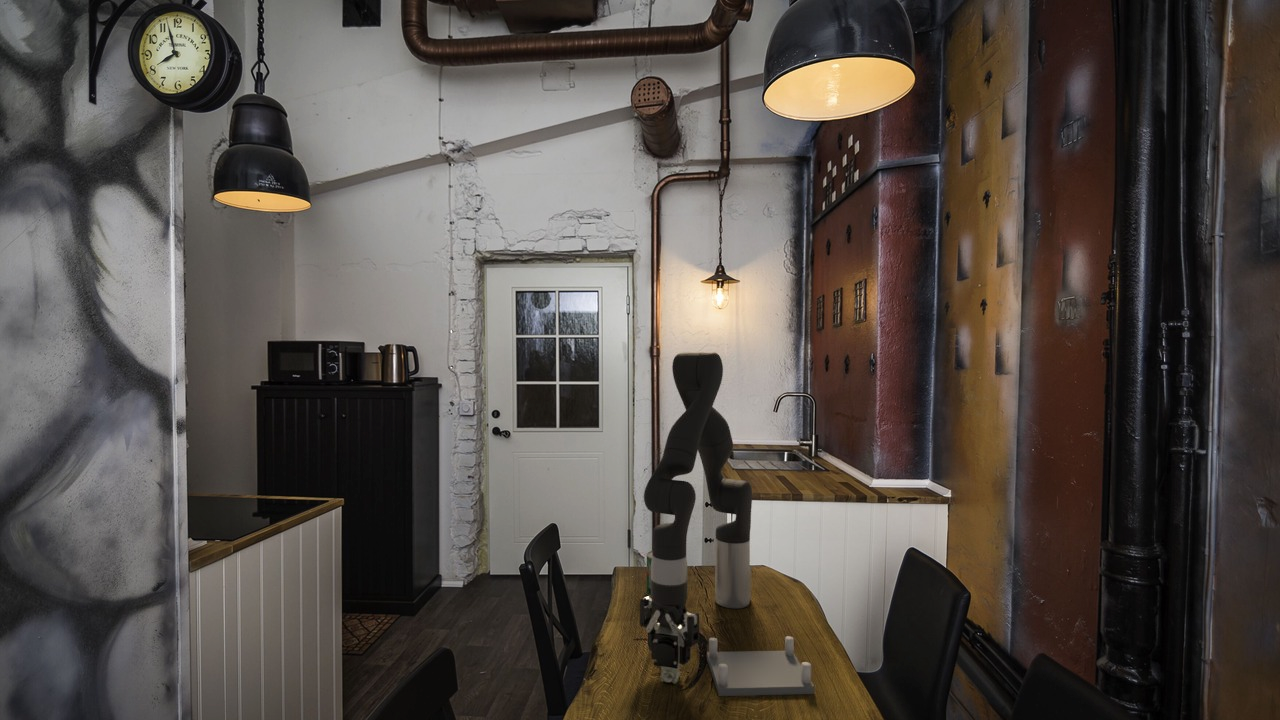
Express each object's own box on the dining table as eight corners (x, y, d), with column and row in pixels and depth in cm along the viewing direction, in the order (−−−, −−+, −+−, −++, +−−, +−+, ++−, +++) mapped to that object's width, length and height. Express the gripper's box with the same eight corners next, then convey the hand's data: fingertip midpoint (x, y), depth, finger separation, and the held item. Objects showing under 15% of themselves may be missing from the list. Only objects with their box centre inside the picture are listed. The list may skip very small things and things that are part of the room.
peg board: (718, 696, 112) (719, 670, 112) (706, 658, 126) (706, 636, 126) (814, 693, 113) (814, 668, 113) (791, 657, 127) (792, 634, 127)
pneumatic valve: (687, 665, 123) (687, 610, 123) (675, 696, 112) (676, 635, 112) (661, 662, 125) (662, 606, 125) (648, 691, 113) (648, 631, 114)
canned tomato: (674, 599, 158) (675, 559, 158) (646, 599, 158) (646, 559, 158) (673, 588, 165) (673, 549, 165) (646, 587, 166) (646, 549, 166)
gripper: (708, 580, 116) (707, 661, 116) (654, 563, 126) (653, 638, 126) (685, 591, 111) (684, 676, 111) (631, 572, 120) (630, 650, 120)
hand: (668, 656), depth 118 cm, fingers open, 7 cm apart
